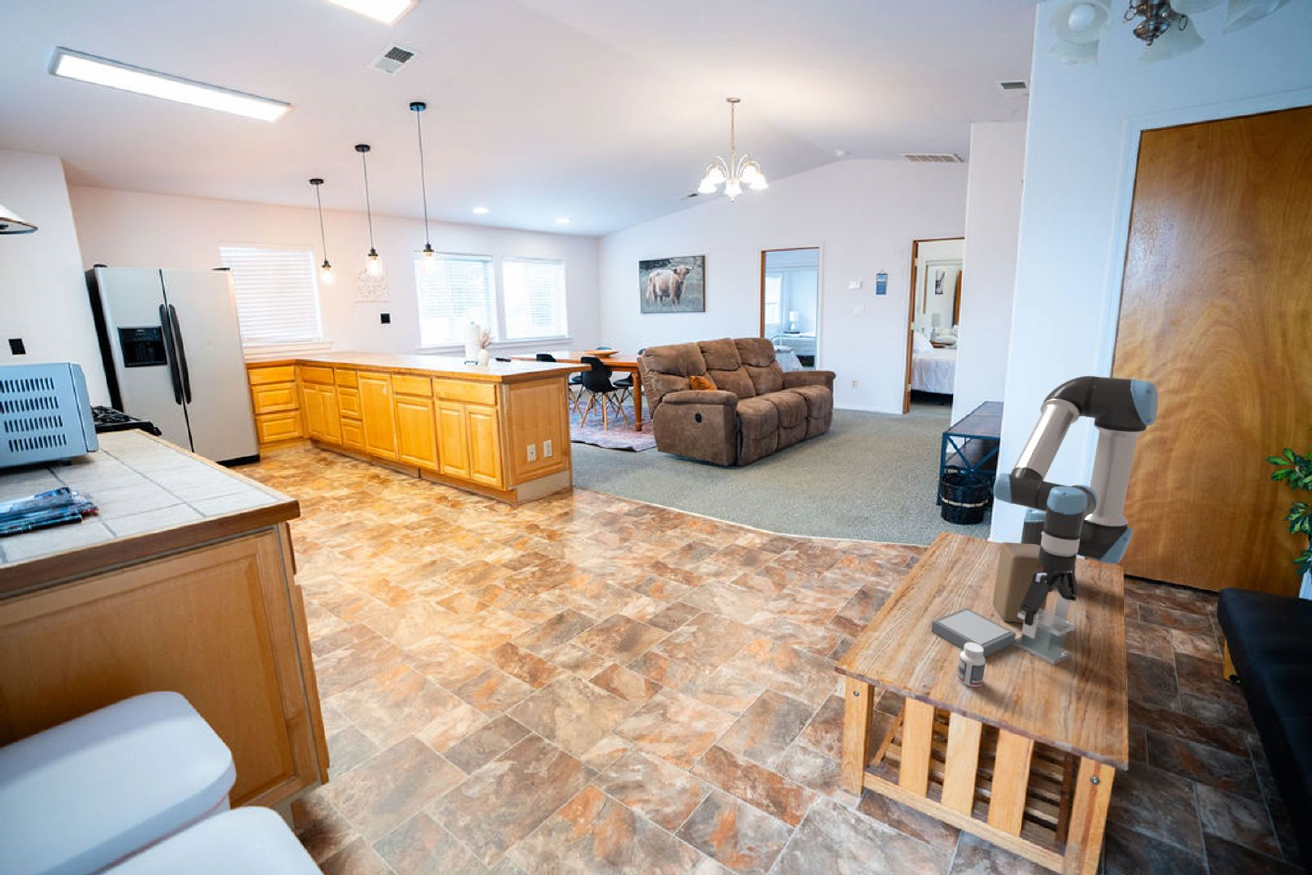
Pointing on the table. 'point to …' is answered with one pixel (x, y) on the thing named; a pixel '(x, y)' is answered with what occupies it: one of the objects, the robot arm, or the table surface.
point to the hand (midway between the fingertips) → (1044, 628)
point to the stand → (973, 631)
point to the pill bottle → (971, 665)
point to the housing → (1047, 637)
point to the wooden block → (1015, 578)
